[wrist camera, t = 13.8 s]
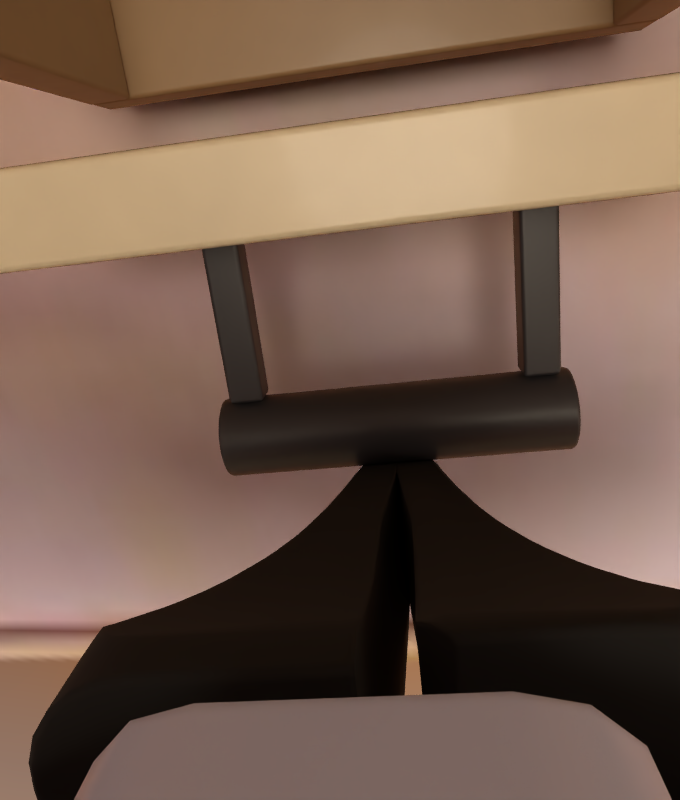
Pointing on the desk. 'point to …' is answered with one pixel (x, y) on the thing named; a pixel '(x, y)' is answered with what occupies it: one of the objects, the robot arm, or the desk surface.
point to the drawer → (338, 188)
